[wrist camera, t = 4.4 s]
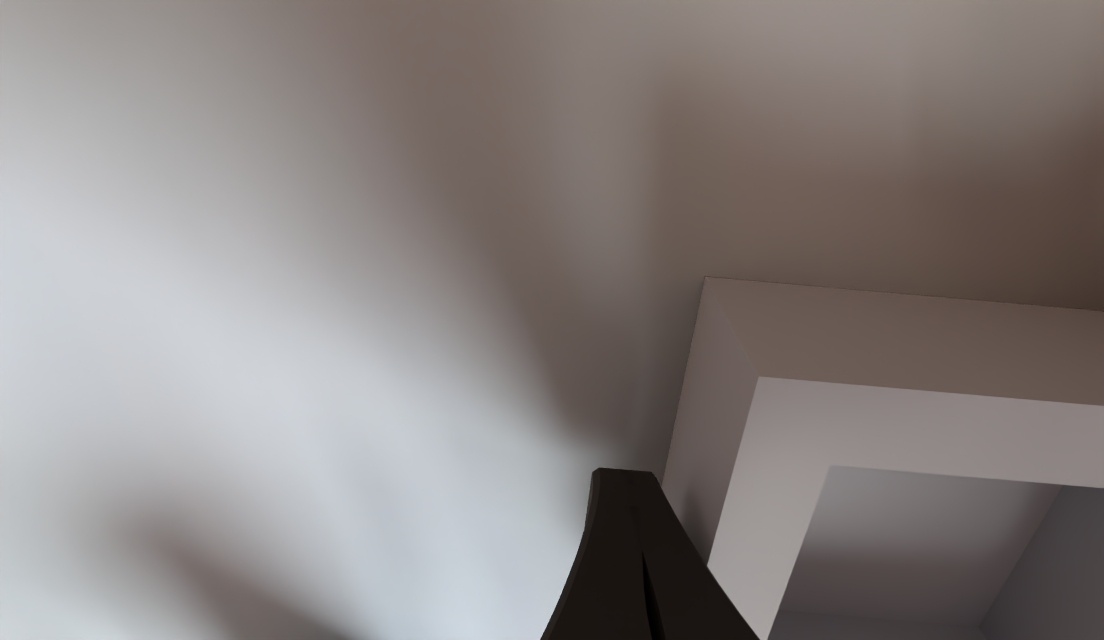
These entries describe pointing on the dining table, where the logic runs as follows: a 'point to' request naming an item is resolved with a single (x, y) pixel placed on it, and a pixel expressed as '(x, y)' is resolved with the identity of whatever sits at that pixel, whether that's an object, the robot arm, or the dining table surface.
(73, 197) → the dining table surface
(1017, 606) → the socket block
